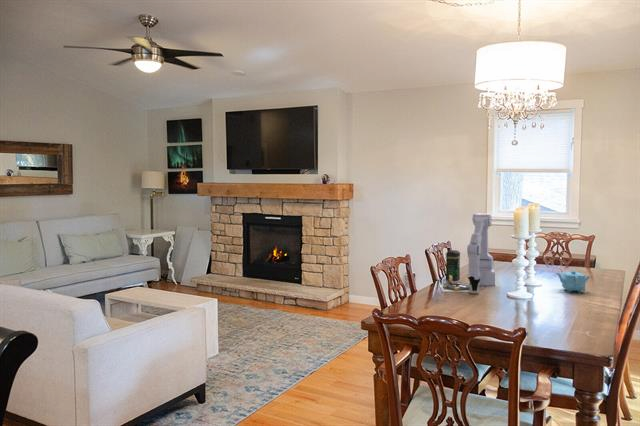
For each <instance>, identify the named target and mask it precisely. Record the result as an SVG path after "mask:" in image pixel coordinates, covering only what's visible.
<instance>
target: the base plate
mask: <svg viewBox="0 0 640 426" xmlns="http://www.w3.org/2000/svg"><path fill="white" fill-rule="evenodd" d="M443 285H444V284H438V288H439V289H440V290H441V291H442V293H469V290H468V289H465V290H459V291H458V290H454V289H448V288H447V289H444V288H443Z"/></svg>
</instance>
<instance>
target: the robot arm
mask: <svg viewBox="0 0 640 426" xmlns="http://www.w3.org/2000/svg"><path fill="white" fill-rule="evenodd" d="M472 224H473V226H474V232H473V234H471V238H470V241H469V244H468V245H467V248H466V249H467V250H466V252H467V257H468V273H467V272H466V276H467V278H468V281H469V283H471V285H472V290H473V291H477V287H478V284H479V287H480V286H483V287H484V286H486V287H487V286H488V287H489V286H492V287H493V286H494V287H495V286H496V270H494V266H495V263H494V262H495V261H494V256H492V254H490V253H489V227H491V226H492V214H491V213H475V212H474V213H473V214H472Z"/></svg>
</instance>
